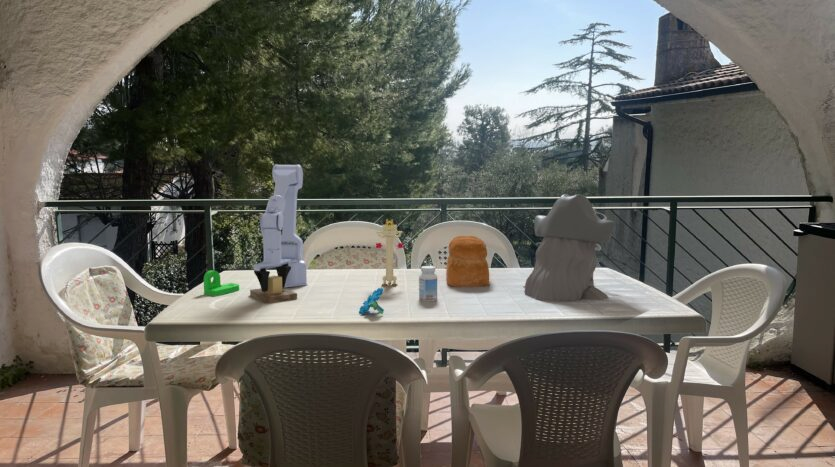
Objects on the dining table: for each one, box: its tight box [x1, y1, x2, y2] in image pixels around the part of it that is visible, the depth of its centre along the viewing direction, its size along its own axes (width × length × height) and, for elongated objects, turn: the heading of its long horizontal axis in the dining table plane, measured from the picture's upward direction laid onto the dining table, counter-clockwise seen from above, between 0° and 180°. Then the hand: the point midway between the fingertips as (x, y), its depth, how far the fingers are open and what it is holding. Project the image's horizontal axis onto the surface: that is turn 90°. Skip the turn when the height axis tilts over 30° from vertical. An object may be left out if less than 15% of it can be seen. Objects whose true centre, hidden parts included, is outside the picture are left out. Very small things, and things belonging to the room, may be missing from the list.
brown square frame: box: [249, 287, 298, 304], centre depth 200 cm, size 11×14×2 cm
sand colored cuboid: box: [265, 275, 282, 294], centre depth 200 cm, size 4×4×7 cm
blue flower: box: [358, 286, 385, 315], centre depth 180 cm, size 11×6×10 cm
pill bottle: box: [418, 265, 438, 302], centre depth 197 cm, size 6×6×11 cm
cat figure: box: [375, 219, 404, 287], centre depth 220 cm, size 10×9×25 cm
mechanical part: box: [203, 269, 240, 297], centre depth 208 cm, size 12×6×8 cm, turn 150°
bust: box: [522, 193, 616, 303], centre depth 205 cm, size 34×34×35 cm
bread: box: [445, 235, 490, 288], centre depth 228 cm, size 16×26×17 cm, turn 178°
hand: (273, 288), depth 200 cm, fingers open, 7 cm apart
